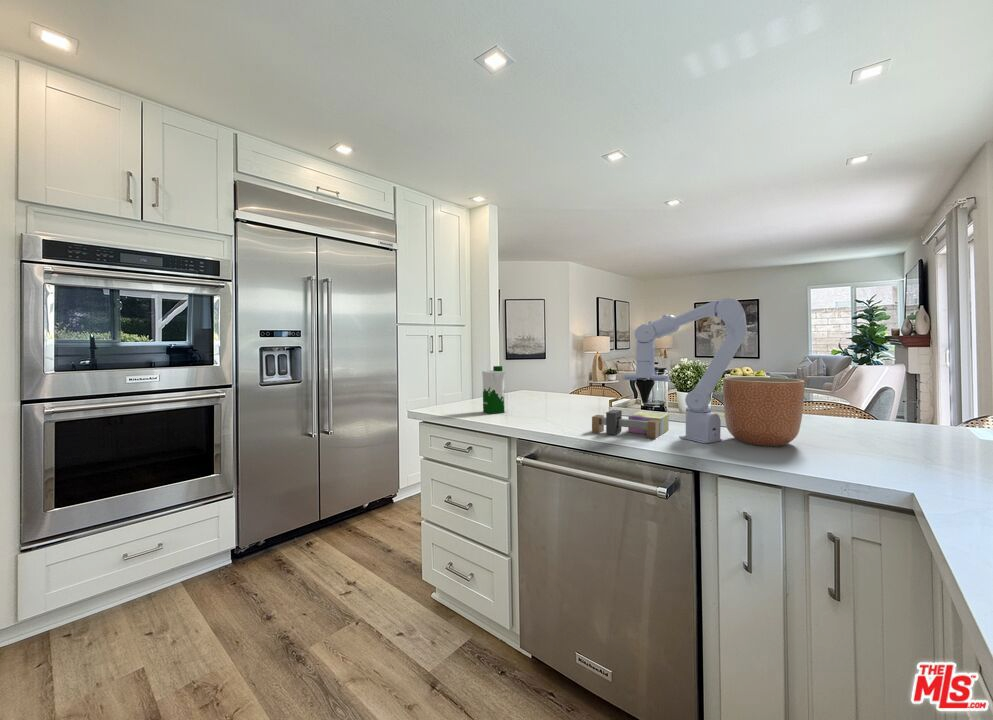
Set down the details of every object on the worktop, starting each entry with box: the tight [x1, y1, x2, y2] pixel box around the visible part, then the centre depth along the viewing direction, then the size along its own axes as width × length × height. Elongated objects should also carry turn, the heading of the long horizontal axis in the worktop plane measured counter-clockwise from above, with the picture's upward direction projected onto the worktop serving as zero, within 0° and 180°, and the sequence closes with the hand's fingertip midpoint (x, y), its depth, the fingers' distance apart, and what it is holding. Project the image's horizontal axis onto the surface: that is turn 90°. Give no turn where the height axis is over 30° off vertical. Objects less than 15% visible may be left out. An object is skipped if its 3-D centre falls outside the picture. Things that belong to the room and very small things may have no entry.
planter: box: [722, 376, 806, 447], centre depth 130 cm, size 21×21×19 cm
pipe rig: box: [591, 414, 659, 440], centre depth 142 cm, size 20×5×5 cm, turn 58°
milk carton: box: [481, 365, 506, 415], centre depth 189 cm, size 9×9×20 cm
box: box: [627, 410, 670, 436], centre depth 147 cm, size 10×6×12 cm
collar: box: [605, 409, 623, 436], centre depth 144 cm, size 3×7×7 cm, turn 148°
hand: (645, 402), depth 143 cm, fingers closed
